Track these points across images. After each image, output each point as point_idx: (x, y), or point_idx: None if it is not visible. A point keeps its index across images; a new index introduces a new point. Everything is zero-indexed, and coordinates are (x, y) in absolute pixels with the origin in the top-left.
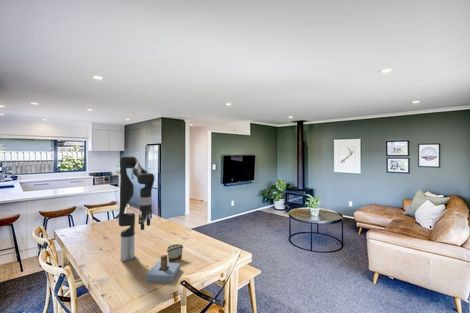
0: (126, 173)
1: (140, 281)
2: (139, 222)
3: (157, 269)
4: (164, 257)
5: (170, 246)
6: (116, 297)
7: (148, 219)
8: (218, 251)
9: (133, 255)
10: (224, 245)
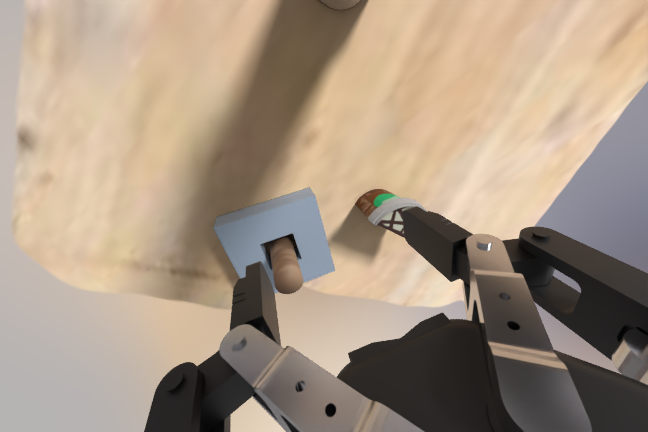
0: None
1: (201, 202)
2: (170, 412)
3: (264, 238)
4: (279, 291)
5: (411, 205)
6: (64, 205)
7: (466, 271)
8: None
9: (351, 3)
10: None
